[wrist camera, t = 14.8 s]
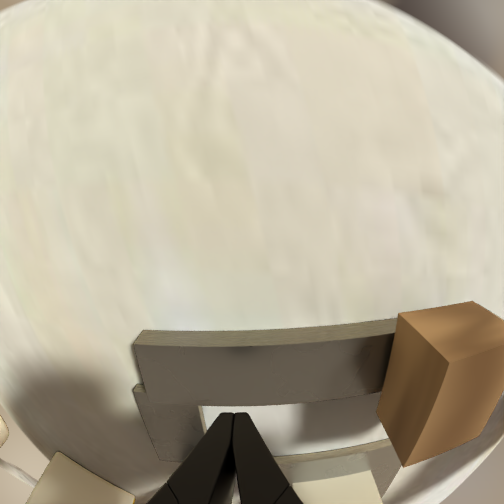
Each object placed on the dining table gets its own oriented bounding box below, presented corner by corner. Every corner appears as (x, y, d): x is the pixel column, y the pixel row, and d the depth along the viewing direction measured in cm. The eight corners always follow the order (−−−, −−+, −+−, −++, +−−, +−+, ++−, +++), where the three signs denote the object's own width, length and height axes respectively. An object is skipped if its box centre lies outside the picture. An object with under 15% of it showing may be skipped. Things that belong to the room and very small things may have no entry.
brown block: (472, 301, 9) (525, 334, 6) (444, 393, 10) (478, 435, 7) (398, 312, 9) (449, 362, 6) (376, 411, 10) (403, 467, 7)
